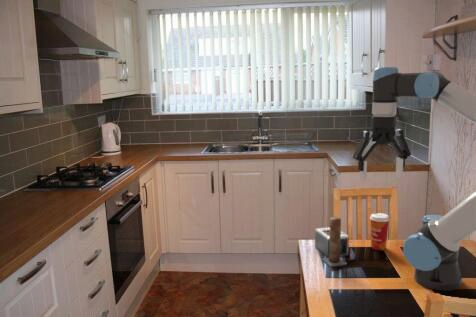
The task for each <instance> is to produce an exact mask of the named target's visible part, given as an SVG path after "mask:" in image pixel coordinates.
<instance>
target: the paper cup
mask: <svg viewBox="0 0 476 317" xmlns="http://www.w3.org/2000/svg"><path fill="white" fill-rule="evenodd" d="M369 220H370V235H371V236H370V241H371V242H370V244H371V245H370V246H371V249H372V250H375V251H385V250H386V246H387V237H388V231H389V221H390V218H389V215H388V214H387V213H383V212H382V213H381V212H380V213H379V212H378V213H371V214H370V217H369ZM384 249H385V250H384Z"/></svg>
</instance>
